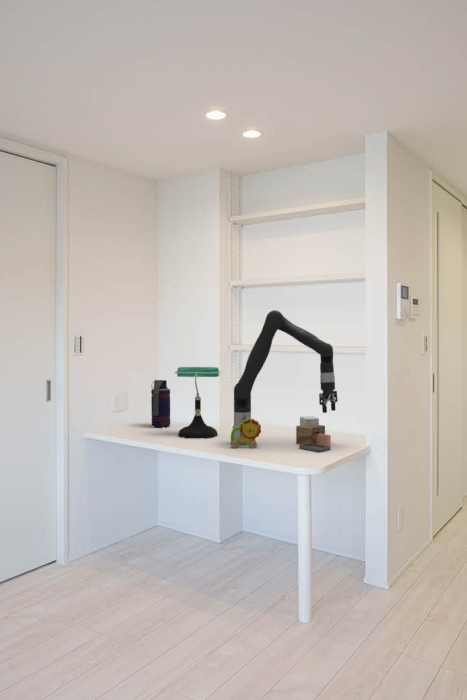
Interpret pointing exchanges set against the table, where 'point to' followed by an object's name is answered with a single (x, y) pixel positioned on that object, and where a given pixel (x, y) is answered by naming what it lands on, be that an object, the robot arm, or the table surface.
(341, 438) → the table surface
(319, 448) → the tray
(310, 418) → the ink box
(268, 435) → the table surface
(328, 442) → the tan rectangular block
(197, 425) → the banker's lamp
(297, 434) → the cardboard shipping carton
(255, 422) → the toy lion
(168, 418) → the grenade
